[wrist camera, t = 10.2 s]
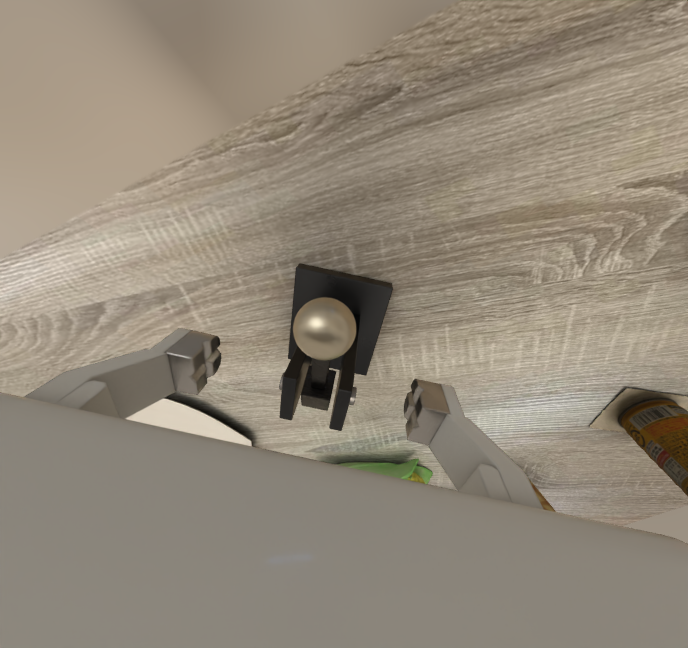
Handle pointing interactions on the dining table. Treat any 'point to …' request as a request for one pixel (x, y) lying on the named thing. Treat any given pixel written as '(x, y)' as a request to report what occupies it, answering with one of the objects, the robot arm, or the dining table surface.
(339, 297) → the ball handle lever stand
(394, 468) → the corn
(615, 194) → the dining table surface
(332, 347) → the switch lever
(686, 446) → the condiment
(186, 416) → the plate
